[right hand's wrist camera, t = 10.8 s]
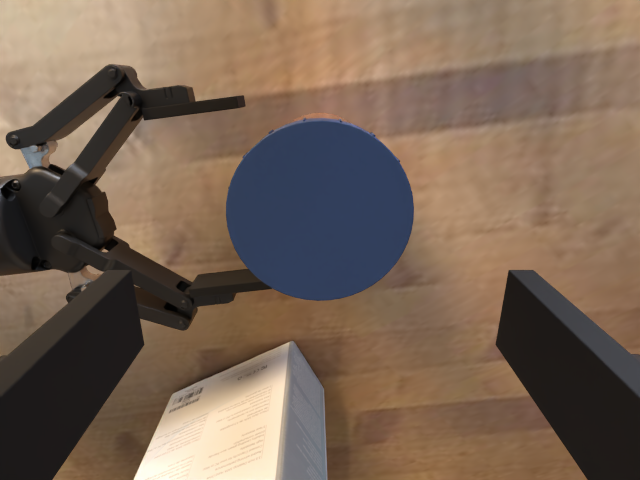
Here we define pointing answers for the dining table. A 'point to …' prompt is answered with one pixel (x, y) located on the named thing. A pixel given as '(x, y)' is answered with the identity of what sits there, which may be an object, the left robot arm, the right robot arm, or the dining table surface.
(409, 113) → the dining table surface
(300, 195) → the lid
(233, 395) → the hard drive box
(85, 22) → the dining table surface
